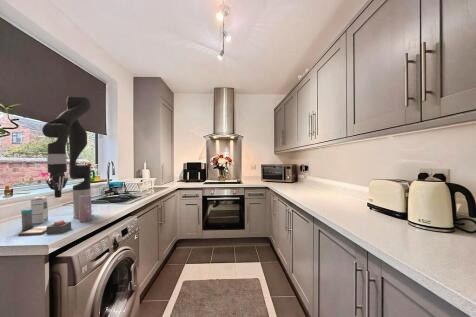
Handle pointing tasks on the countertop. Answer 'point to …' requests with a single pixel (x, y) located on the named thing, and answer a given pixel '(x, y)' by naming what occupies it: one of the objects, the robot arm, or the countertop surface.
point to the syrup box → (39, 209)
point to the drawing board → (34, 231)
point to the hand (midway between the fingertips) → (58, 197)
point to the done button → (58, 223)
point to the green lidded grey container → (26, 219)
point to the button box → (58, 228)
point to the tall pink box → (85, 208)
